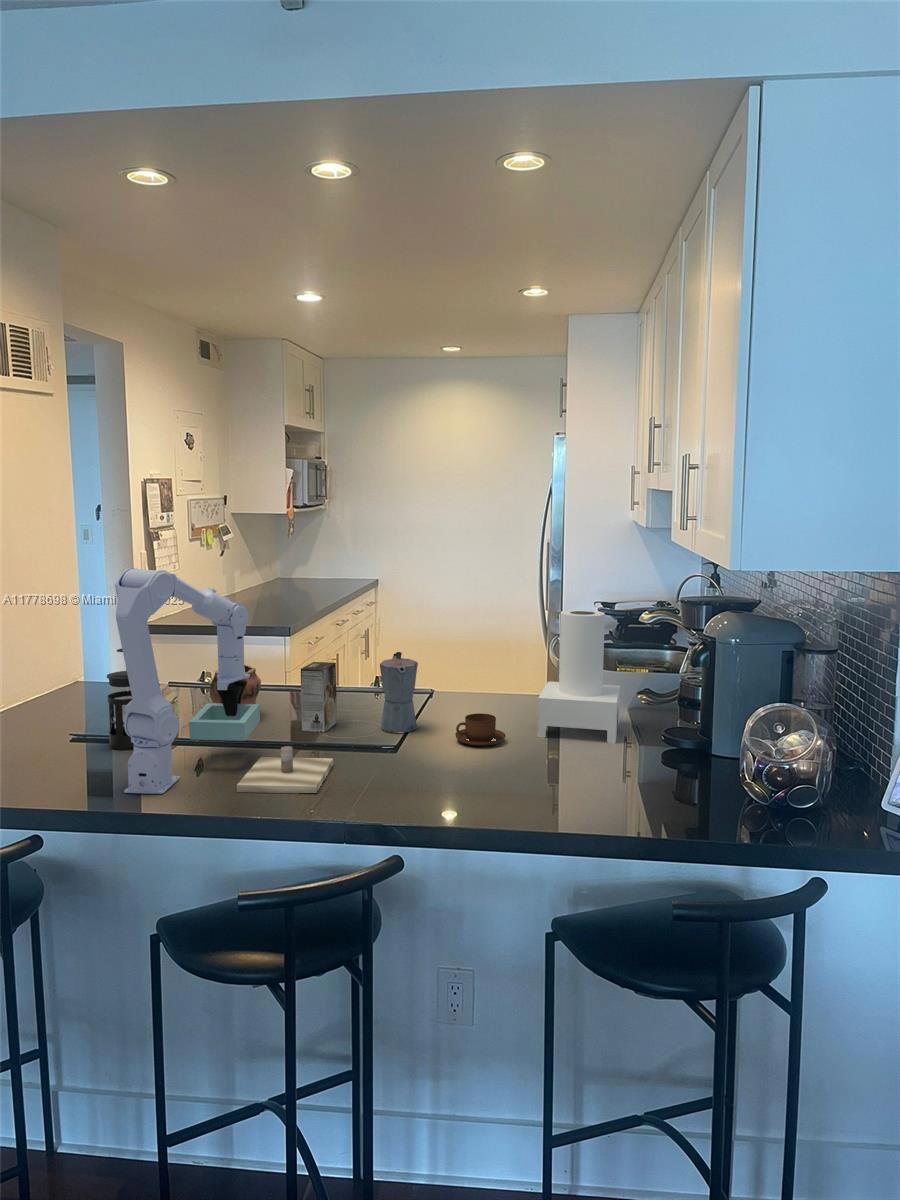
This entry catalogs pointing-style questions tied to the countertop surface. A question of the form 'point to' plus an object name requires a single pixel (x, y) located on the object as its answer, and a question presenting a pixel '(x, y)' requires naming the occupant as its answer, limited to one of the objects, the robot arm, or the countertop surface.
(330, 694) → the coffee box
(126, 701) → the french press
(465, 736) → the cup and saucer
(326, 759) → the post board
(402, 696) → the moka pot
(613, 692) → the paper towel holder
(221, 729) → the square loop
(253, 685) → the decorative planter
